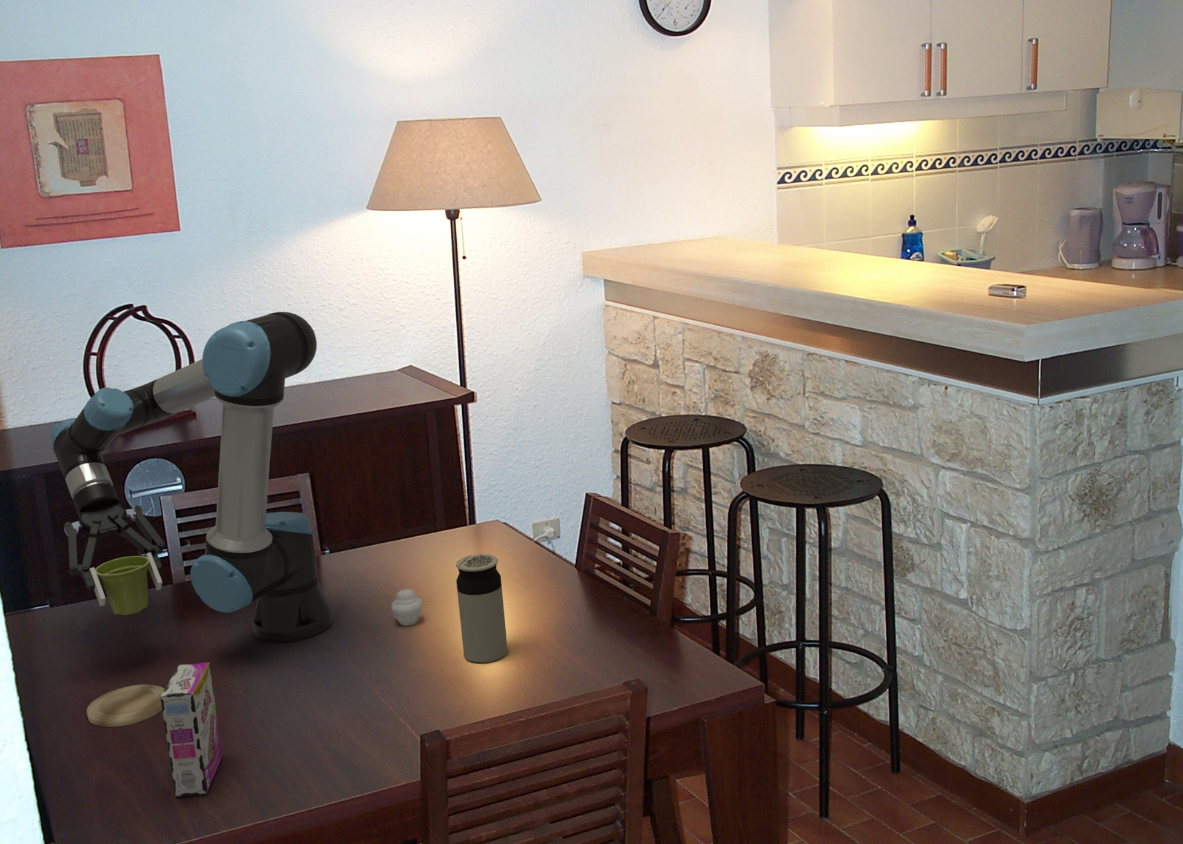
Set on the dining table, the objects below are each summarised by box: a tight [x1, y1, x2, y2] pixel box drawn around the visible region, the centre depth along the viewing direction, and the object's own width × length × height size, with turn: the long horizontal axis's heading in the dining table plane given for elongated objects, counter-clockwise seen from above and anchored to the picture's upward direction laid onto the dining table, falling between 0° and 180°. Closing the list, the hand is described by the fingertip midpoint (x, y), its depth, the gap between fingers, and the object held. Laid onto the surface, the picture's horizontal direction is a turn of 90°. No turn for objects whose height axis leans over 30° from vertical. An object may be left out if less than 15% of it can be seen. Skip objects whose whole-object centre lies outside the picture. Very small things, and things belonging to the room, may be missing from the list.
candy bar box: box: [160, 661, 223, 798], centre depth 179 cm, size 11×5×16 cm, turn 5°
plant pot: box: [95, 555, 150, 616], centre depth 217 cm, size 9×9×9 cm
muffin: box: [390, 588, 424, 627], centre depth 233 cm, size 6×6×7 cm
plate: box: [86, 684, 165, 728], centre depth 205 cm, size 13×13×1 cm
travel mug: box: [455, 553, 509, 663], centre depth 215 cm, size 8×8×18 cm
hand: (131, 594), depth 215 cm, fingers closed on plant pot, 9 cm apart
